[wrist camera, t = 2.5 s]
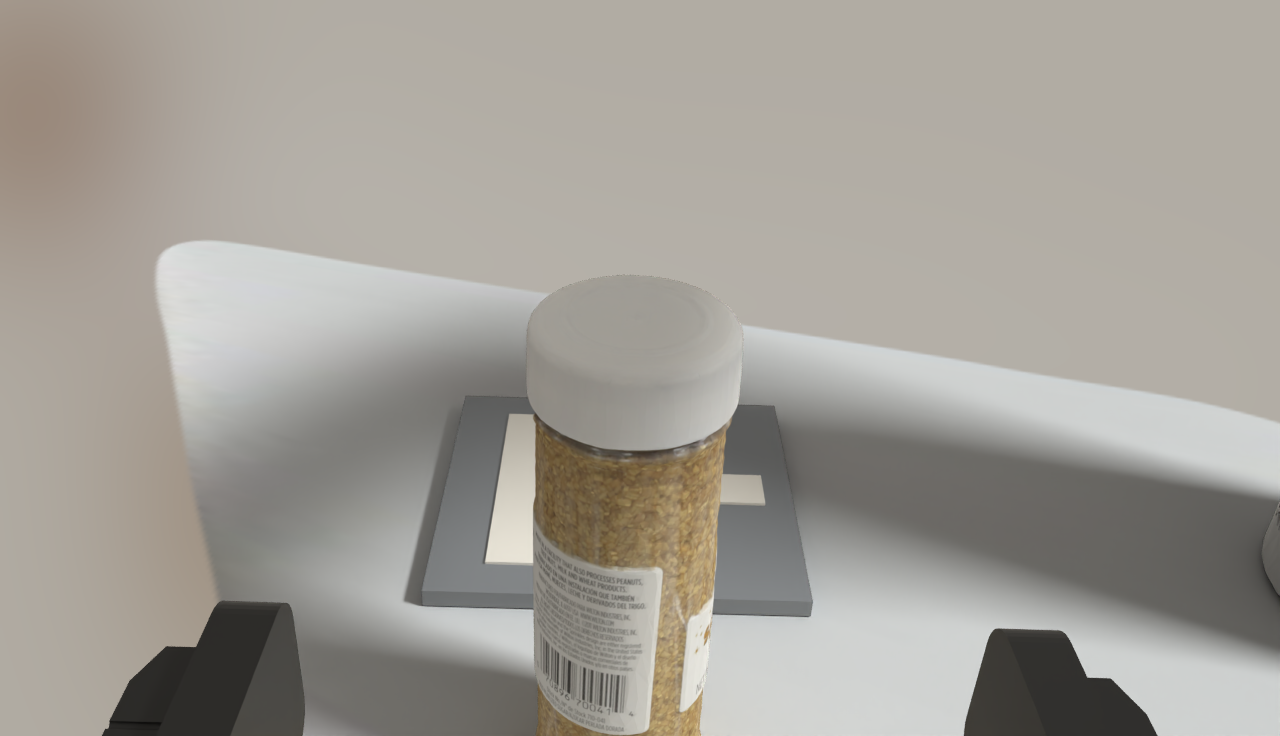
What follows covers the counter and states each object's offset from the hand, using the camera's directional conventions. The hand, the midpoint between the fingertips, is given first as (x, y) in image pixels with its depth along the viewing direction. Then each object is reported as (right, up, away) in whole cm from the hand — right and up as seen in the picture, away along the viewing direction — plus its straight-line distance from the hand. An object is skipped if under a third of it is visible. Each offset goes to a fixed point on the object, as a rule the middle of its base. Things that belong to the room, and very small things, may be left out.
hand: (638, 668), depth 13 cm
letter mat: (-1, -1, +27) cm, 27 cm away
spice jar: (-1, -7, +18) cm, 19 cm away
